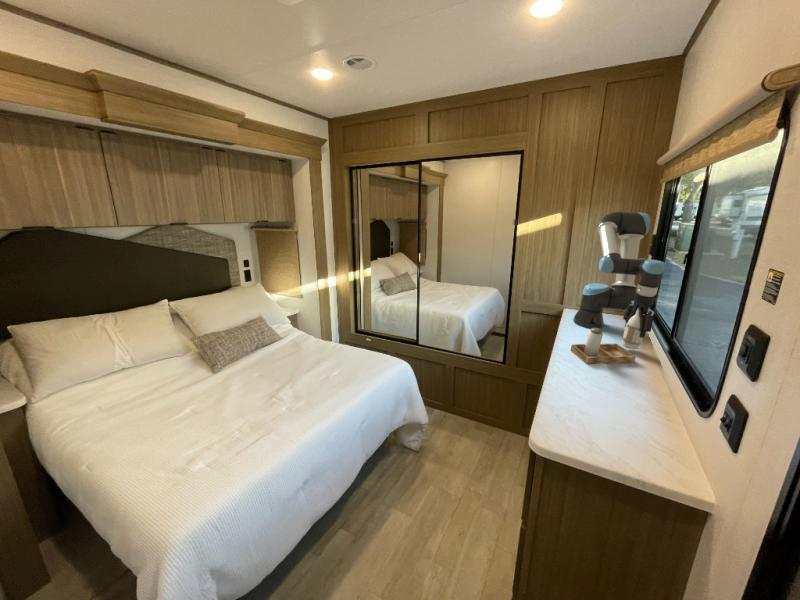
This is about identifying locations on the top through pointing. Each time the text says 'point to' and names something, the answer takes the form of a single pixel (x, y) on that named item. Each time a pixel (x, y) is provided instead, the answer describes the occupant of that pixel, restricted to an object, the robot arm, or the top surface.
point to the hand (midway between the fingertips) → (632, 338)
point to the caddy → (604, 354)
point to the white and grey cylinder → (593, 342)
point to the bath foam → (632, 332)
